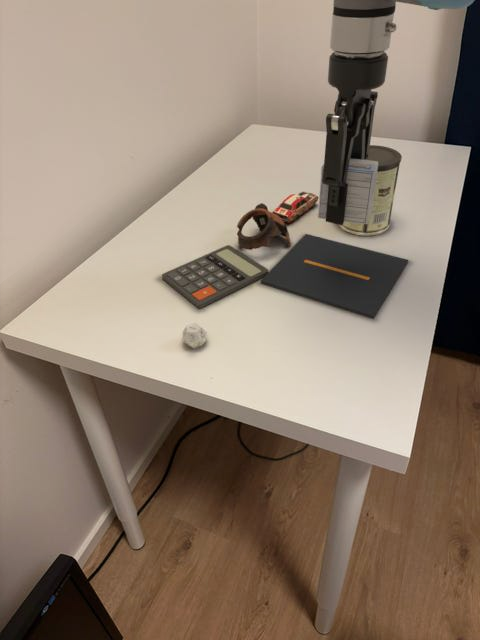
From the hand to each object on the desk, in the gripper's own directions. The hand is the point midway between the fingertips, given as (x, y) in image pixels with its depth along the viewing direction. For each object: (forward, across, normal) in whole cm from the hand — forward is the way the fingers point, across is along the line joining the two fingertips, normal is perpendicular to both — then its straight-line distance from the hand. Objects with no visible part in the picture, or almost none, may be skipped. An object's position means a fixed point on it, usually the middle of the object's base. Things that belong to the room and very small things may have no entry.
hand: (341, 214), depth 78 cm
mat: (+11, 0, 0) cm, 11 cm away
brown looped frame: (+11, +3, +16) cm, 20 cm away
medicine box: (0, 0, 0) cm, 1 cm away
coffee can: (+11, +19, +2) cm, 22 cm away
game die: (+11, -27, +11) cm, 31 cm away
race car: (+11, +17, +16) cm, 26 cm away
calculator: (+11, -11, +18) cm, 24 cm away
